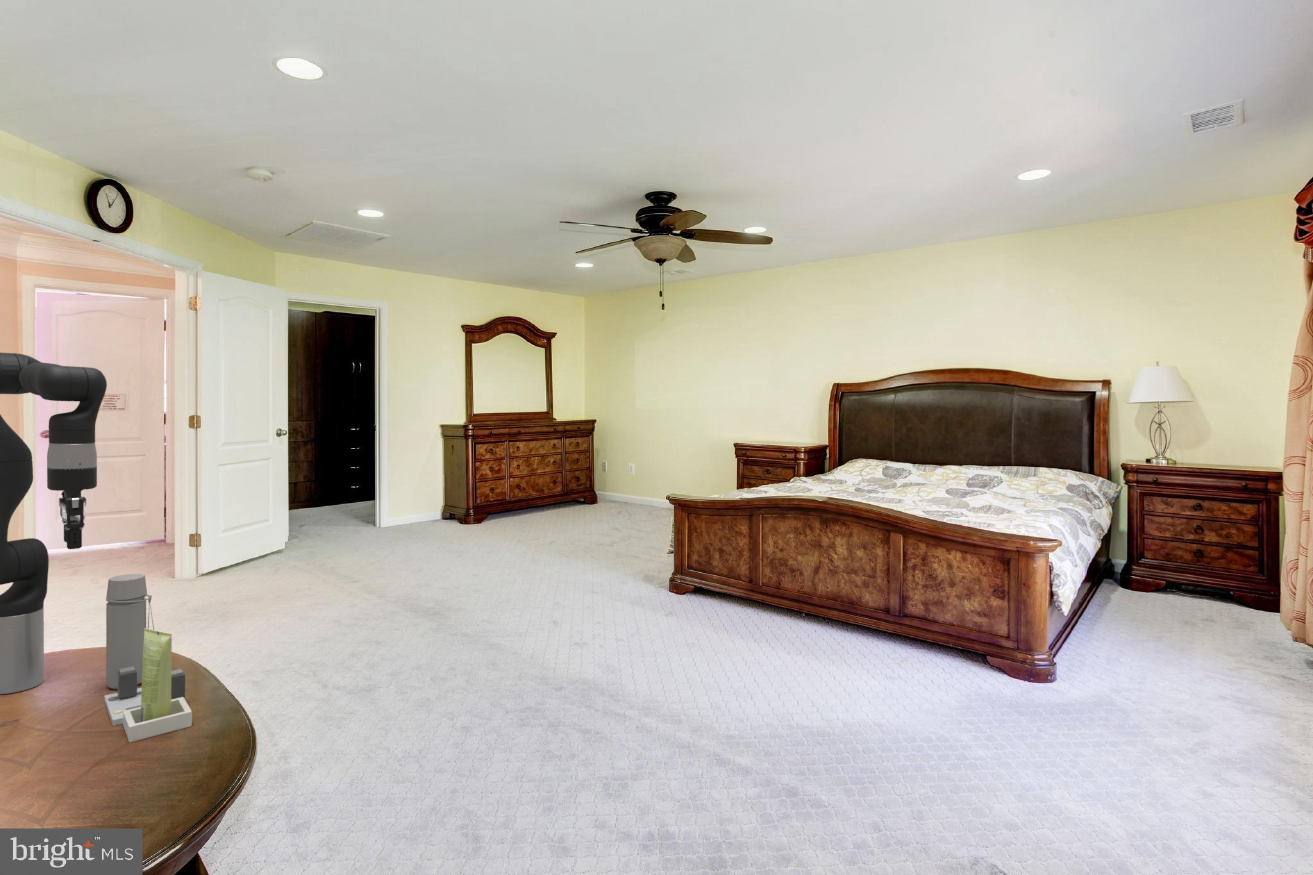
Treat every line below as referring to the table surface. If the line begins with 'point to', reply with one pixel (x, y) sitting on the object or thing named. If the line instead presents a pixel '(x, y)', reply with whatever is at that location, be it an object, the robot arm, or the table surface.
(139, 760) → the table surface
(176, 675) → the block
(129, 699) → the breaker panel
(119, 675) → the block
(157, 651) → the tube
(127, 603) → the water bottle
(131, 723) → the frame
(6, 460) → the robot arm
